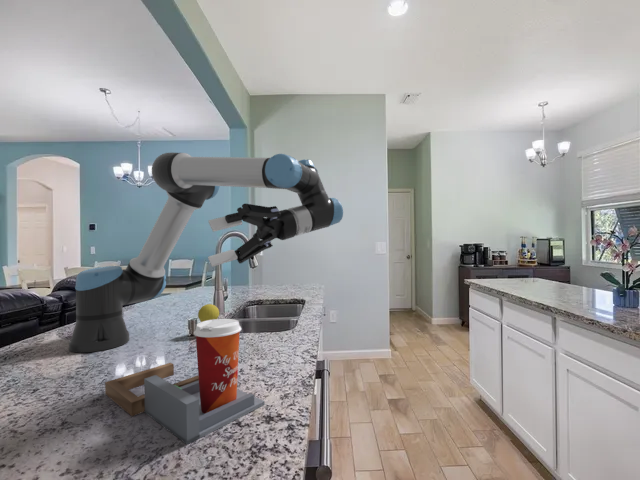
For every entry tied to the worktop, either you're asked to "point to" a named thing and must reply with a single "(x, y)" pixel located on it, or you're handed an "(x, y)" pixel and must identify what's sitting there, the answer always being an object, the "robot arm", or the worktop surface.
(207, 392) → the coffee cup
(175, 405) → the port dock
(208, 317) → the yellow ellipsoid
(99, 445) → the worktop surface
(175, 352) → the worktop surface
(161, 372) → the wooden u-shaped frame
